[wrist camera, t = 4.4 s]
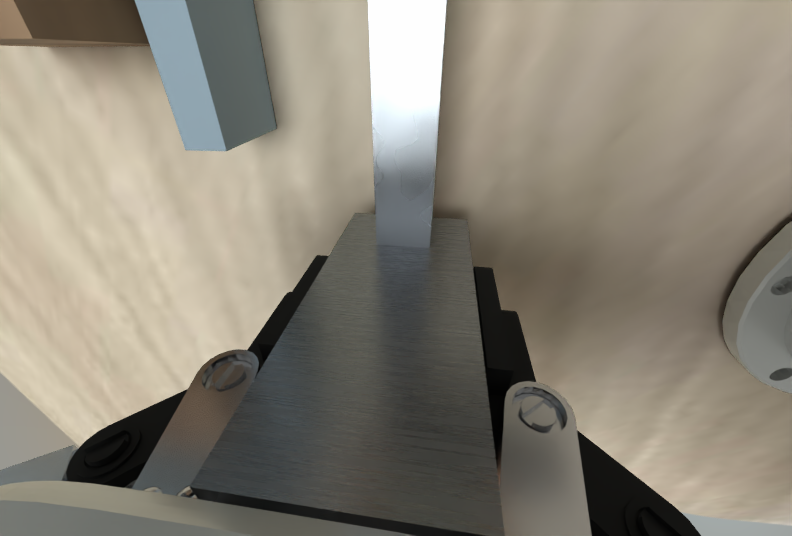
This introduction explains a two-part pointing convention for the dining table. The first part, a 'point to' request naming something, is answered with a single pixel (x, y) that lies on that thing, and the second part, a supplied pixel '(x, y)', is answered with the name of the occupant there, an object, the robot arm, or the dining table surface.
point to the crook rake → (378, 341)
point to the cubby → (210, 69)
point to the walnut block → (71, 23)
